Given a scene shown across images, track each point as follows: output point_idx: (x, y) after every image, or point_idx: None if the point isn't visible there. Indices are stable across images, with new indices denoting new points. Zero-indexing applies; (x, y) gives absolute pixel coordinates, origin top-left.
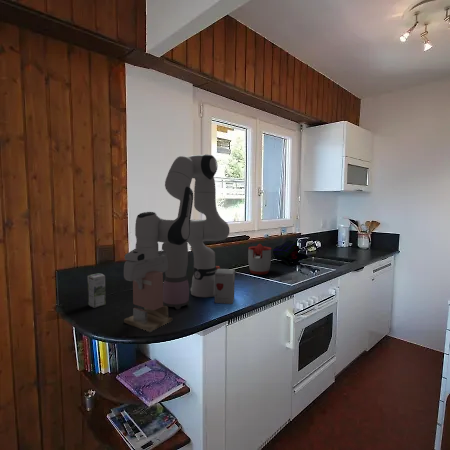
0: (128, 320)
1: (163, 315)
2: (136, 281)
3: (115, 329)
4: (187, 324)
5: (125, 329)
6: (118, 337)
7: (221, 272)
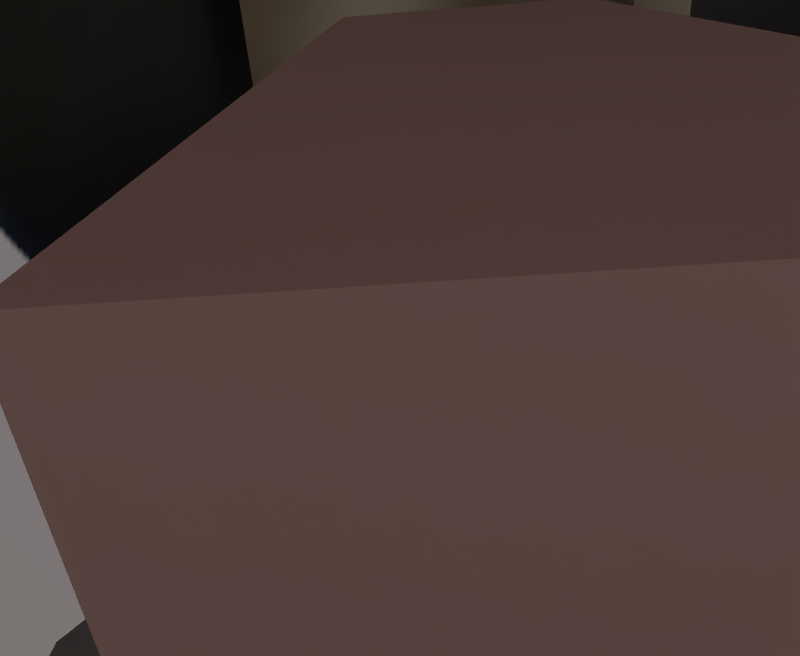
0: (249, 48)
1: None
2: (89, 630)
3: (68, 52)
4: None
5: (162, 148)
6: (27, 255)
7: None
